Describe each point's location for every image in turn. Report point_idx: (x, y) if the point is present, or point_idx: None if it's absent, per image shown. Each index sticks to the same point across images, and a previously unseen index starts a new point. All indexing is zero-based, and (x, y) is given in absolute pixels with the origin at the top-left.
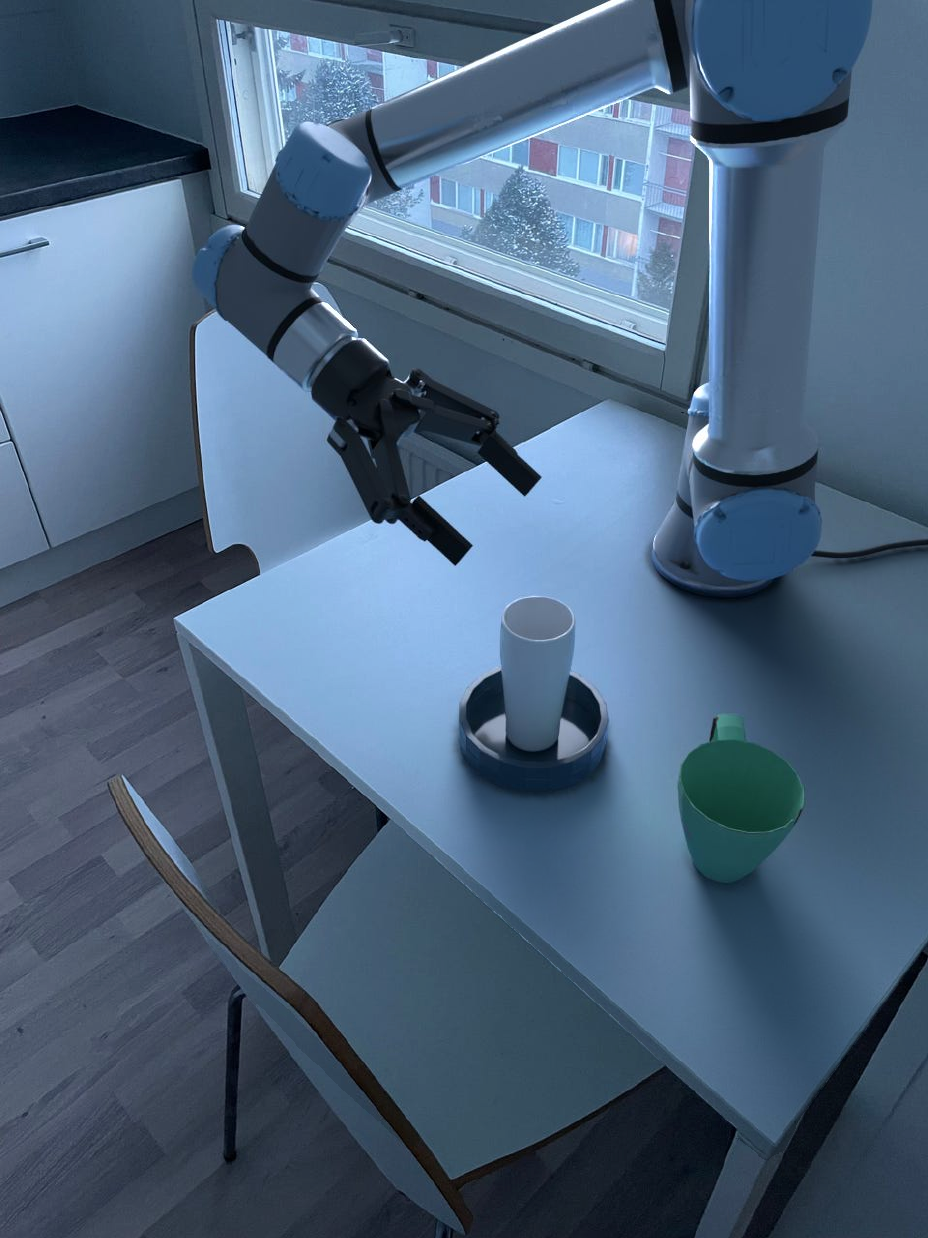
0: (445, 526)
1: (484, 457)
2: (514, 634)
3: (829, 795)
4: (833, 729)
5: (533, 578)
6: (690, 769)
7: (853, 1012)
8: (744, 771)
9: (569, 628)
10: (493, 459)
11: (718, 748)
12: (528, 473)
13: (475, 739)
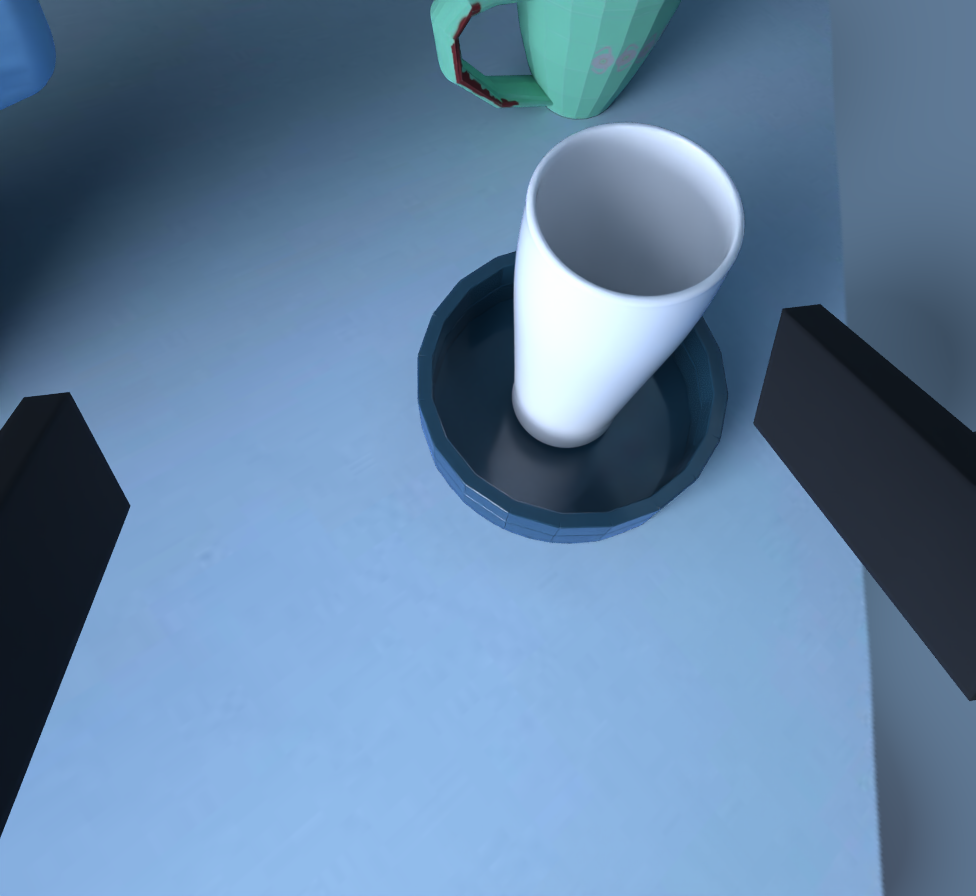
0: (912, 388)
1: (10, 789)
2: (741, 218)
3: (372, 25)
4: (232, 55)
5: (70, 727)
6: (595, 21)
7: None
8: None
9: (544, 198)
10: (12, 707)
11: None
12: (51, 443)
13: (714, 419)
